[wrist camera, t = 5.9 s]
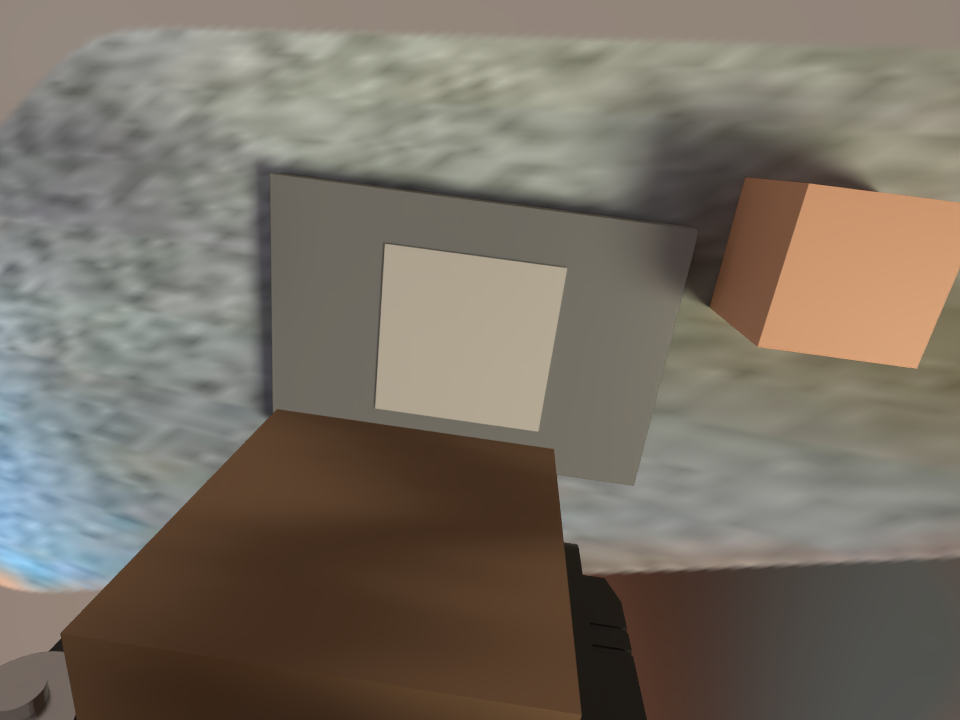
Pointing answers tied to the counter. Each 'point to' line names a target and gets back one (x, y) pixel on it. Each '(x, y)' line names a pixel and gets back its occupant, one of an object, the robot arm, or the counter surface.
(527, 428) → the plate
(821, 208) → the terracotta block
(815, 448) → the counter surface
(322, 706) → the walnut block
